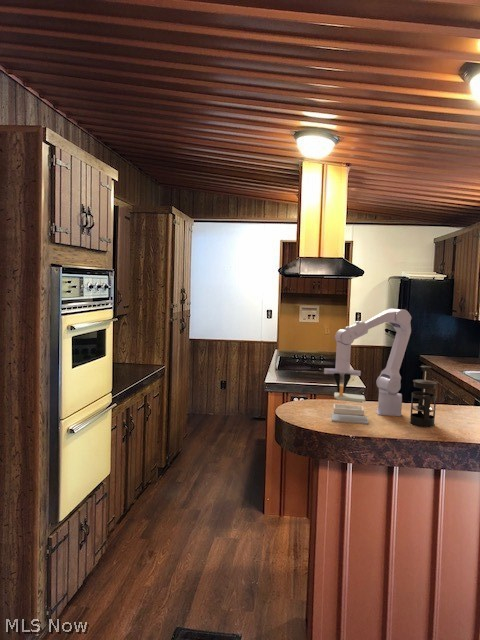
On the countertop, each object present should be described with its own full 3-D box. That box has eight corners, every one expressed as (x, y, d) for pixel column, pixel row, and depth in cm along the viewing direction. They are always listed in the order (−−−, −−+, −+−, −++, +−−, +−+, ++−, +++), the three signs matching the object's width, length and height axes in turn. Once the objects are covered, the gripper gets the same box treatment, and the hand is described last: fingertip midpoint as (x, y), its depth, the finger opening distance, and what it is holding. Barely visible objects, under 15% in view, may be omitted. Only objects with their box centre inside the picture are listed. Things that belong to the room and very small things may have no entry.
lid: (363, 399, 221) (364, 385, 221) (364, 403, 213) (366, 389, 213) (334, 396, 223) (335, 382, 223) (334, 400, 215) (335, 386, 215)
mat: (366, 417, 216) (366, 416, 216) (368, 424, 207) (368, 422, 207) (331, 415, 219) (331, 413, 218) (331, 421, 209) (331, 419, 209)
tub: (362, 411, 226) (362, 405, 226) (363, 416, 219) (363, 410, 218) (333, 409, 228) (333, 403, 228) (333, 414, 220) (334, 408, 220)
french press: (406, 419, 216) (410, 363, 214) (430, 421, 215) (434, 364, 213) (413, 427, 204) (417, 368, 202) (438, 429, 203) (443, 369, 201)
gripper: (324, 359, 215) (323, 392, 216) (361, 361, 212) (359, 395, 213) (324, 356, 222) (323, 389, 223) (360, 359, 219) (358, 391, 220)
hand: (341, 392), depth 219 cm, fingers closed on lid
